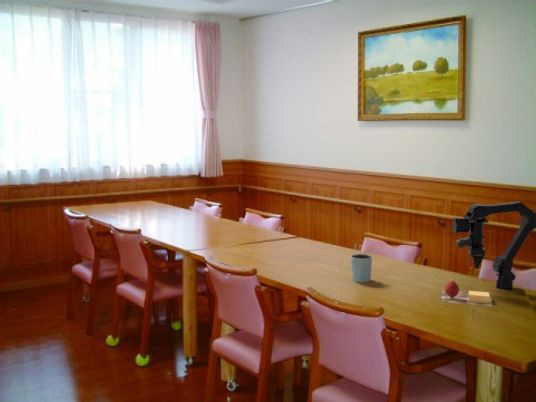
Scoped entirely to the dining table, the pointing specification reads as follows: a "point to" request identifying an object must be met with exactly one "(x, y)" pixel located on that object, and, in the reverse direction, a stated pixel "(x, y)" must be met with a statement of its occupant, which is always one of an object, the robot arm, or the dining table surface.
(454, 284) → the onion
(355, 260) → the grey blue cup
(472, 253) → the robot arm
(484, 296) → the light orange rectangular block
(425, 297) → the dining table surface
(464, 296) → the board
